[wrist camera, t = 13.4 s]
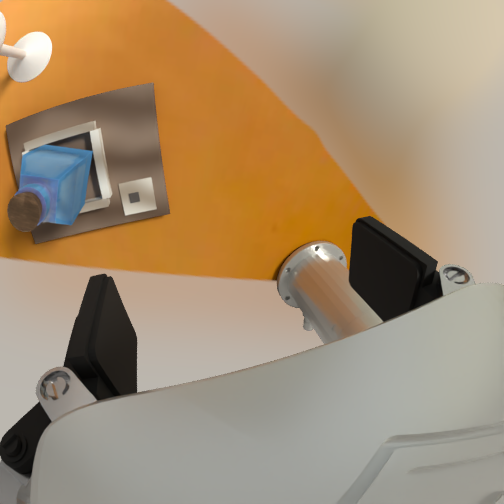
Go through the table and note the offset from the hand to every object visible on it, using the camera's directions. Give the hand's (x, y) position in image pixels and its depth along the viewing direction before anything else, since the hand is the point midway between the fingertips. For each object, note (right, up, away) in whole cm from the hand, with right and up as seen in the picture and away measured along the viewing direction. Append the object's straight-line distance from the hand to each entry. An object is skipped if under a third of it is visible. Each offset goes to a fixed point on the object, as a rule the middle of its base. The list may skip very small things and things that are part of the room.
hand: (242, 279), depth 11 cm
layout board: (-20, +11, +19) cm, 30 cm away
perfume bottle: (-21, +10, +17) cm, 28 cm away
